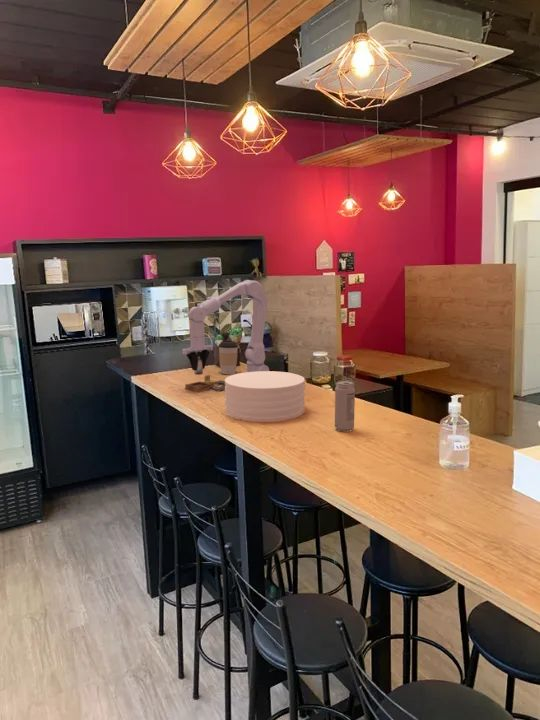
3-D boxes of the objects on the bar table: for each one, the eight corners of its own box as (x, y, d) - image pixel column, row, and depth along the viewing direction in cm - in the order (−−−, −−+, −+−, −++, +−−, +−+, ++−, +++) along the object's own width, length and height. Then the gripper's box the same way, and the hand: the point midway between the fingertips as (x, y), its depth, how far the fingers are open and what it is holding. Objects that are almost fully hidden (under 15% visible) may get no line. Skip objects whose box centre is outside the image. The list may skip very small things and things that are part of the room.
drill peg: (204, 373, 229) (203, 355, 227) (198, 375, 226) (197, 356, 225) (198, 372, 231) (198, 354, 229) (192, 374, 228) (192, 356, 227)
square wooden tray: (212, 388, 230) (212, 384, 229) (197, 392, 224) (197, 387, 224) (200, 385, 235) (200, 381, 235) (185, 389, 229) (185, 384, 229)
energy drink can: (341, 425, 178) (342, 379, 175) (357, 429, 174) (358, 382, 172) (330, 430, 174) (331, 383, 171) (347, 433, 170) (348, 385, 167)
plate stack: (209, 409, 199) (209, 378, 197) (269, 397, 216) (269, 368, 214) (259, 427, 178) (258, 392, 176) (321, 411, 195) (321, 379, 193)
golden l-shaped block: (218, 385, 236) (218, 377, 235) (213, 386, 234) (213, 377, 234) (208, 383, 240) (208, 375, 239) (204, 384, 238) (204, 376, 238)
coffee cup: (238, 374, 257) (239, 342, 255) (219, 374, 256) (219, 342, 253) (236, 370, 266) (237, 339, 264) (217, 371, 265) (218, 339, 262)
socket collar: (239, 386, 234) (239, 384, 234) (218, 391, 225) (218, 389, 225) (220, 382, 242) (220, 380, 242) (199, 386, 233) (199, 385, 233)
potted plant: (212, 364, 283) (211, 329, 280) (232, 362, 288) (232, 327, 285) (223, 369, 269) (222, 332, 266) (244, 367, 274) (244, 331, 271)
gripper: (204, 333, 234) (205, 365, 236) (177, 337, 223) (178, 370, 226) (215, 335, 229) (216, 367, 231) (188, 339, 218) (189, 373, 221)
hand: (198, 369), depth 228 cm, fingers closed on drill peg, 3 cm apart
